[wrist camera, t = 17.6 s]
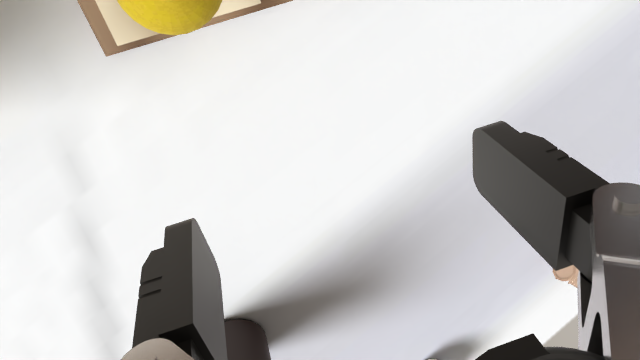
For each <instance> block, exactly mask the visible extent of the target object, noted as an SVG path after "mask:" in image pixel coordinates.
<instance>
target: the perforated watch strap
mask: <svg viewBox="0 0 640 360" xmlns="http://www.w3.org/2000/svg"><path fill="white" fill-rule="evenodd" d="M578 272H579V270H578V269H577V268H576V267H575V266H574V265H571V266H569V267H566V268H563V269H560V270H557V271H555V270H554V269H553V273H554V276H555V277H556V279H558V280H561V281H568V280H569V282H568V284H572V285H574V286H575V287H576V288H577V278H578Z"/></svg>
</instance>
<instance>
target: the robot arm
mask: <svg viewBox="0 0 640 360" xmlns="http://www.w3.org/2000/svg"><path fill="white" fill-rule="evenodd" d="M473 178H474V182H475V184H476V187H477V189H478V191H479V192H480V194H481V195H482V196H483V197H484V198H485V199H486V200H487V201H488V202H489V203H490V204H491V205H492V206H493V207H494V208H495V209H496V210H497V211H498V212H499V213H500V214H501V215H502V216H503V217H504V218H505V219H506V220H507V221H508V222H509V223H510V225H511V226H512V227H513V228H514V229H515V230H516V231H517V232H518V233H519V234H520V235H521V236H522V237H523V238H524V239H525V240H526V241H527V242H528V243H529V244H530V245H531V246H532V247H533V248H534V249H535V250H536V251H537V252H538V253H539V254H540V255H541V256H542V257H543V258H544V259H545V260H546V261H547V262H548V264H549V265H550V266H551V267H552V268H553V269H554V270H555V271H557V270H560V269H563V268H566V267H569V266H571V265H574V266H575V267H576V268H577V269H578V270H579V272H578V278H577V289H578V322H579V323H578V325H579V346H578V349H573V348H565V347H543V345H542V344H541V343H540V342H539V340H538V339H537V338H536V337H535V335H534V334H530V335H528V336H525V337H522V338H519V339H517V340H514V341H511V342H508V343H506V344H503V345H500V346H497V347H495V348H492V349H489V350H488V351H486V352H485V353H484V354H482V355H481V356H479V357H478V358H477V359H475V360H640V185H637V184H632V183H611V184H610V183H608V182H607V181H605V180H604V179H602V178H601V177H599V176H598V175H597V174H595V173H594V172H592V171H591V170H589V169H588V168H586V167H585V166H583V165H582V164H581V163H579V162H578V161H576V160H575V159H573V158H572V157H570V158H569V156H568V155H567V154H566V153H565V152H563V151H562V150H560V149H559V150H558V149H557V147H556V146H554V145H553V144H551V143H550V142H549V141H547V140H546V139H544V138H542V137H539V136H536V135H533V134H530V133H527V132H522V133H519V132H518V131H517V130H515V129H514V128H513V127H511V126H510V125H508V124H507V123H505V122H504V121H499V122H496V123H493V124H490V125H486V126H483V127H480V128H477V129H475V130H474V132H473ZM140 284H141V286H140V288H139V299H138V305H137V313H136V321H135V329H134V337H133V346H132V349H131V350H130V351H129V352H127V353H126V354H125V355H124V356H123V358H122V359H121V360H227V348H226V337H225V325H224V313H223V301H222V290H221V279H220V274H219V270H218V266H217V263H216V261H215V258H214V256H213V254H212V252H211V250H210V248H209V246H208V244H207V242H206V239H205V237H204V235H203V233H202V231H201V229H200V227H199V225H198V223H197V221H196V220H195V219H194V218H192V219H189V220H186V221H183V222H179V223H176V224H173V225H170V226H167V227H166V228H165V238H164V247H163V248H160V249H157V250H154V251H151V253H150V255H149V256H148V258H147V260H146V262H145V263H144V265H143V267H142V272H141V280H140Z"/></svg>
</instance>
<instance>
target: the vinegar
mask: <svg viewBox="0 0 640 360" xmlns="http://www.w3.org/2000/svg"><path fill="white" fill-rule="evenodd" d="M224 325H225V337H226V348H227V360H271V358H270V353H269V348H268V343H267V338H266V334H265V331H264V330H263V329H262V328H261V326H260V325H259V324H256V323H254V322H252V321H249V320H243V319H237V320H229V321H225V322H224Z"/></svg>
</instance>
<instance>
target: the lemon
mask: <svg viewBox="0 0 640 360" xmlns="http://www.w3.org/2000/svg"><path fill="white" fill-rule="evenodd" d="M117 2H118V3H119V5H120V6H121V8H122V9H123V10H124V11H125V12H126V13H127V14H128V15H129V16H130V17H131V18H132V19H133V20H134V21H135V22H137V23H139V24H140V25H142V26H143V27H145V28H146V29H149V30H152V31H154V32H157V33H160V34H168V35H179V34H187V33H190V32H192V31H195V30H197V29H200V28H201V27H202V26H204V25H205V24H206V23H208V22H209V21H210V20H211V19H212V17H213V16H214V15H215V14H216V12H217V11H218V10H219V7H220V5H221V3H222V0H117Z"/></svg>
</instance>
